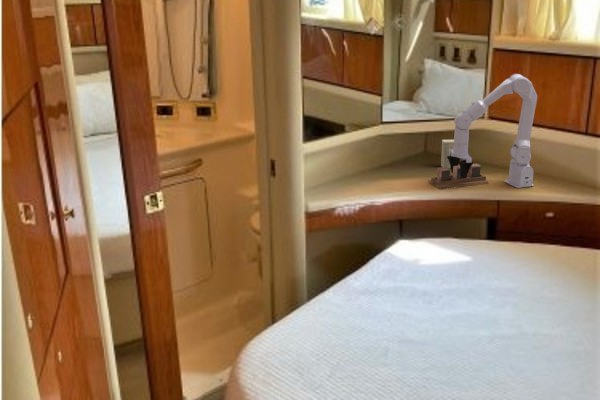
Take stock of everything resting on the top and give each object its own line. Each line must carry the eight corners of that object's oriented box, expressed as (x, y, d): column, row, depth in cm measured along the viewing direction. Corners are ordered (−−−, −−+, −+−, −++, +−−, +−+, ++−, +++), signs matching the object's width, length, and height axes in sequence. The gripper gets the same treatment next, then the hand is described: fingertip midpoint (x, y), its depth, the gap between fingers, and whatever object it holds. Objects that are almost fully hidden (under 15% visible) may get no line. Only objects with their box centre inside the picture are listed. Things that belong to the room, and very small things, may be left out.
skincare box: (454, 165, 268) (455, 139, 264) (455, 167, 264) (457, 141, 260) (440, 165, 269) (441, 139, 265) (441, 167, 265) (443, 141, 260)
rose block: (465, 181, 242) (466, 167, 240) (456, 182, 241) (457, 168, 239) (461, 178, 245) (461, 165, 243) (452, 179, 244) (453, 166, 242)
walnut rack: (488, 183, 242) (489, 167, 239) (440, 189, 236) (441, 172, 234) (475, 176, 251) (476, 161, 248) (428, 182, 245) (429, 166, 243)
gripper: (443, 140, 243) (441, 171, 248) (461, 148, 230) (459, 181, 235) (458, 138, 245) (456, 169, 250) (477, 146, 232) (474, 179, 236)
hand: (458, 175), depth 242 cm, fingers open, 7 cm apart
